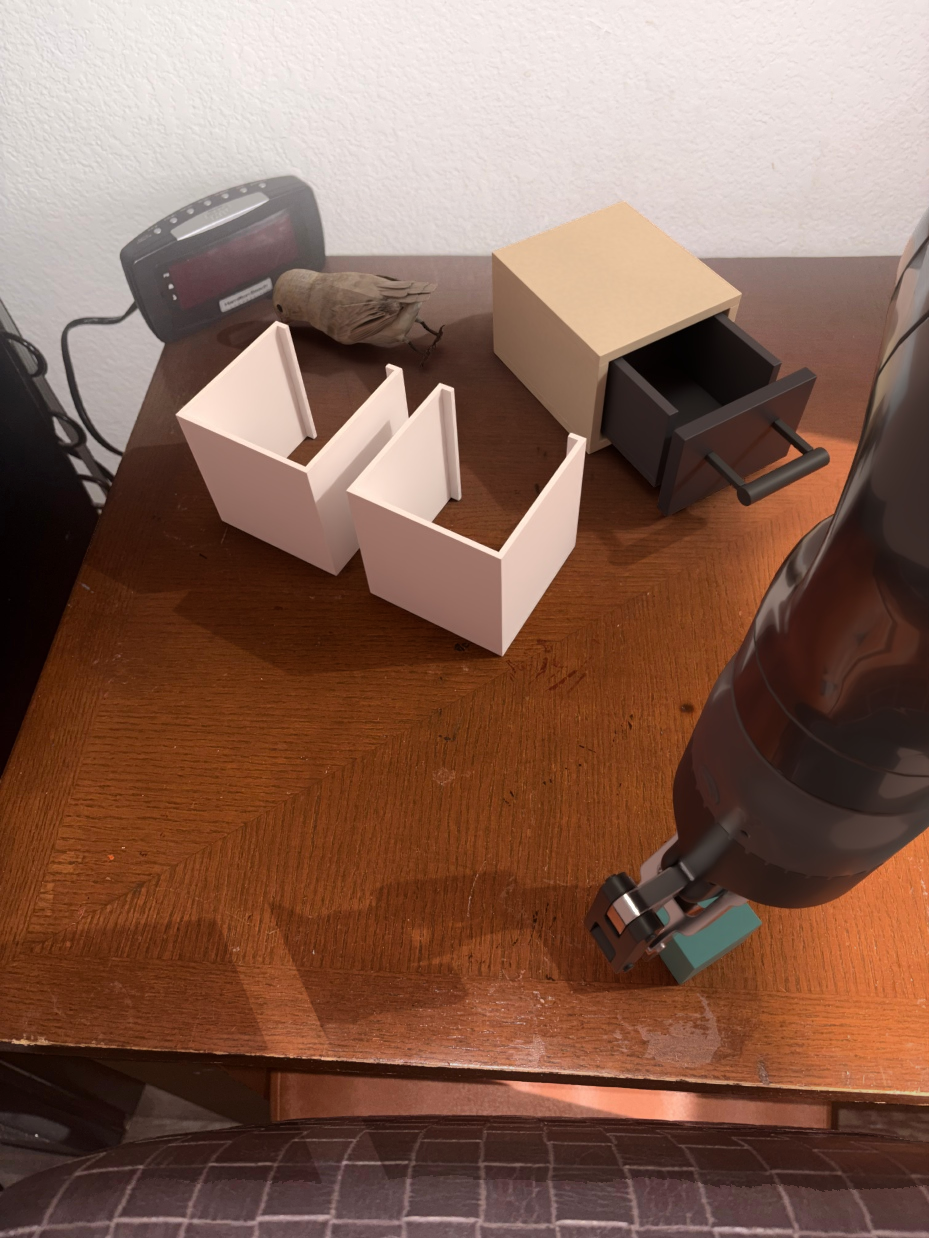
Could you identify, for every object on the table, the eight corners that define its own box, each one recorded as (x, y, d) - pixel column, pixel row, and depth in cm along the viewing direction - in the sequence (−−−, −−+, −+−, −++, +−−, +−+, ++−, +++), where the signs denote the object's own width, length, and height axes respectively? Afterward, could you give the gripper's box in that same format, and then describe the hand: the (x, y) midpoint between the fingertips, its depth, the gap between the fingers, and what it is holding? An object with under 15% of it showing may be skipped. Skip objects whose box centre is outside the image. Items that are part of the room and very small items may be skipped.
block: (693, 874, 49) (707, 850, 46) (743, 942, 47) (762, 923, 43) (631, 914, 48) (641, 892, 44) (679, 985, 46) (694, 969, 42)
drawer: (832, 496, 63) (869, 417, 56) (708, 562, 60) (733, 487, 54) (677, 357, 72) (694, 276, 66) (563, 409, 69) (569, 329, 63)
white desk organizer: (221, 520, 66) (175, 414, 56) (306, 431, 71) (276, 320, 61) (502, 656, 58) (501, 559, 49) (575, 545, 63) (586, 438, 54)
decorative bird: (296, 306, 80) (278, 233, 74) (453, 342, 76) (448, 268, 70) (268, 342, 77) (247, 269, 71) (429, 381, 73) (422, 308, 67)
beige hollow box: (715, 395, 71) (742, 293, 63) (588, 455, 68) (599, 356, 60) (611, 302, 78) (624, 200, 70) (493, 352, 75) (491, 251, 67)
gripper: (710, 980, 25) (636, 1047, 38) (1048, 749, 28) (870, 885, 42) (567, 774, 28) (545, 901, 42) (882, 592, 32) (768, 764, 45)
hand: (707, 893), depth 42 cm, fingers open, 8 cm apart
